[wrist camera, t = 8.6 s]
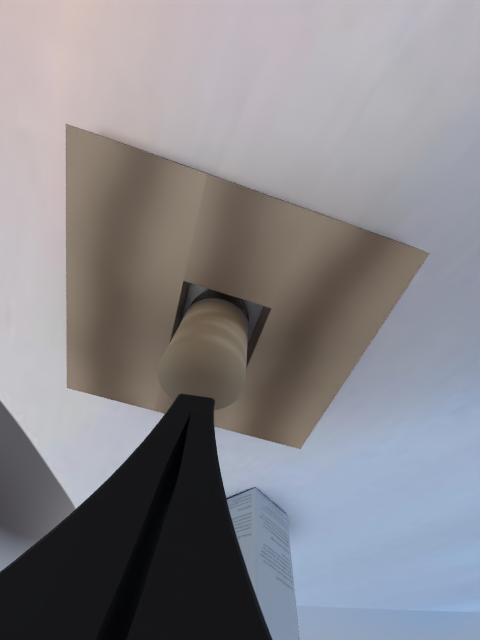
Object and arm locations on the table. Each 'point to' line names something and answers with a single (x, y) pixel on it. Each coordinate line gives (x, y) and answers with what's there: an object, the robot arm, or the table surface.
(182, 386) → the peg
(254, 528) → the skincare box
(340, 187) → the table surface
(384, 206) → the table surface
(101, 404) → the table surface
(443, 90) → the table surface
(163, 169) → the board
